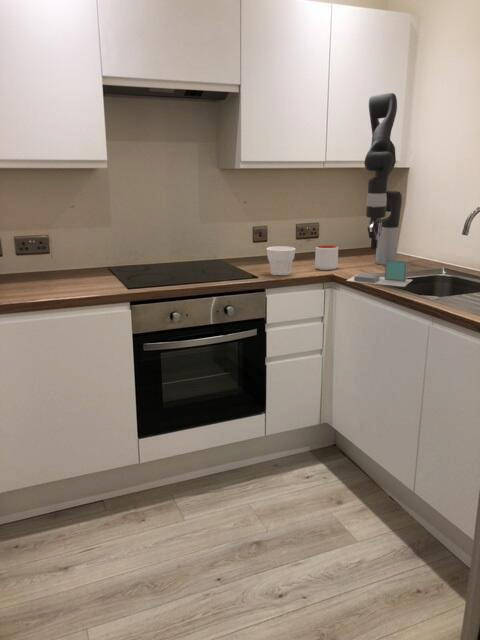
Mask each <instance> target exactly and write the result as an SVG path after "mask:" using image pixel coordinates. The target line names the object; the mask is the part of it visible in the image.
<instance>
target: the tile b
mask: <svg viewBox="0 0 480 640" xmlns="http://www.w3.org/2000/svg"><path fill="white" fill-rule="evenodd" d="M407 270H408V260H402V259H400V260H399V259H396V260H389V259H387V260H386V265H385V270H384V271H385V272H384V277H385V280H394V281H404V282H405V281H406V279H407V272H408V271H407Z"/></svg>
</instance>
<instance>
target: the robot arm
mask: <svg viewBox="0 0 480 640" xmlns="http://www.w3.org/2000/svg"><path fill="white" fill-rule="evenodd" d="M368 111H369V112H368V113H369V118H370V119H369V120H370V125H371V126H370V128H371V136H372V137H371V144H370V147H369V149H368V152H367V154H366V155H365V158H364V163H363V164H364V168H365V169H366V171H369V172H374V174H375V175H374V177H371V178H369V179H368V186H367V197H366V211H365V212H366V213H365V216H366V217H367V218H370V220H369V223H368V225H369V226H367V233H368V237H369V239H370V240H371V241H370V248H371V249H374V250H376V251H375V264H378V265H381V266H382V265H385V266H386V260H387V259H389V260H397V253H398V237H399V227H400V226H399V224H400V218H401V209H402V203H403V196H402V193H401V192H400V191H398V190H394V191H393V190H388V189H387V187H388V180H389V176H390V174H391V173H392V171H393V170H394V168H395V165H396V164H397V163H396V162H397V159H396V158H397V156H396V155H397V154H396V147H395V145H394V143H393V142H392V140H391V137H392V136H391V135H392V130H393V127H394V123H395V119H396V116H397V111H398V99H397V96H396V94H395V93H394V92H389V93H381V94H375V95H372V96H370V97H369V99H368ZM379 119H383V120H381V122H380V120H379ZM386 212H387V213H390V215H389V216H387V217H386V215H387V213H386ZM385 217H386V218H385Z"/></svg>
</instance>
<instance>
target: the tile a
mask: <svg viewBox="0 0 480 640" xmlns="http://www.w3.org/2000/svg"><path fill="white" fill-rule="evenodd" d="M355 275H356V276H355ZM355 275H354V280H355V281H362V282H372V283H373V282H375V281H377V280H378V279H380V277H381V274H375V273H366V272H360V273H358V274H355ZM362 282H361V283H362ZM372 283H371V284H372Z"/></svg>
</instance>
